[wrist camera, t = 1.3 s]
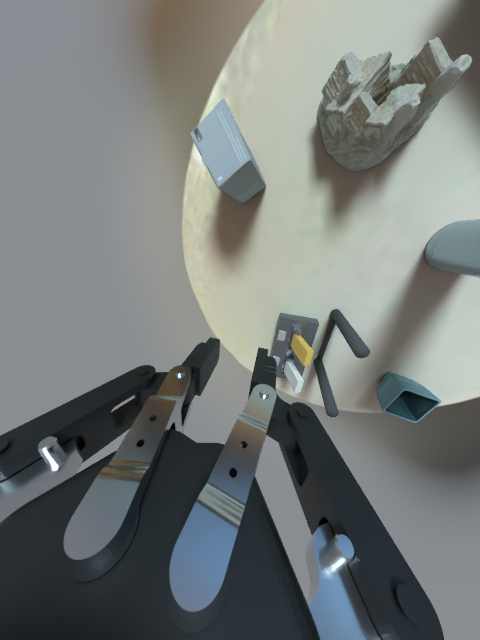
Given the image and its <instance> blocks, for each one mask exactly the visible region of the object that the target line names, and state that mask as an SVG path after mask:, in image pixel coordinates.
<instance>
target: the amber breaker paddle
mask: <svg viewBox="0 0 480 640" xmlns="http://www.w3.org/2000/svg"><path fill="white" fill-rule="evenodd" d="M290 346H291V348H292V349H293V351H294V352H295V354H296V355H297V357H298V359H299V360H300V362H301V363H302V365H303V366H309V365H310V363H311V360H312V357H313V354H314V351H313V350H312V349H311V347H310V346H309V345H308V344H307V343H306V341H305V340H304V339H303V338H302V336H301V335H298V334H293V338H292V342H291V345H290Z"/></svg>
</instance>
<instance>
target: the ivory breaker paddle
mask: <svg viewBox="0 0 480 640" xmlns="http://www.w3.org/2000/svg"><path fill="white" fill-rule="evenodd" d="M284 373H285V375H286V377H287V379H288V381H289V383H290V385H291V387H292V389H293V391H294V393H300V392H301V389H302V386H303V383H304V380H303V379H302V377H301V375H300V374H299V372H298V370H297V369H296V367H295V365H294V364H293V362H289V361H286V364H285V368H284Z"/></svg>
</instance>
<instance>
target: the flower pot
mask: <svg viewBox="0 0 480 640" xmlns="http://www.w3.org/2000/svg"><path fill="white" fill-rule="evenodd" d="M377 396H378V399H379V402H380V405H381V407H382V410H383V412H386V413H388V414H392V415H394V416H397V417H400V418H403V419H405V420H408V421H411V422H415V423H417V422H419V421H420V420H421V419H422V418H423V417H425V416H426V415H427V414H428V413H429V412H430V411H432V410H433V409H434V408H435V407H436V406H438V405H439V404H440V403H441V400H439V399H438V398H437V397H436V396H435V395H433V394H432V393H431V392H430V391H429V390H427V389H426V388H425V387H424V386H422V385H420V384H419V383H417V382H415V381H413V380H410V379H408V378H405V377H402V376H399V375H396V374H393V373H388V374H387V375H386V376H385V377H384V379H383V380H382V381H381V382H380V383H379V385H378V388H377Z"/></svg>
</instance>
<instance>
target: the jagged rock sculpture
mask: <svg viewBox="0 0 480 640" xmlns="http://www.w3.org/2000/svg"><path fill="white" fill-rule="evenodd" d="M391 56H392V54H391V52H390V51H389V52H388V53H386V52H385V53H384V54H379V55H378V56H377V57H376V56H373V57H372V58H368V59H366V60H365V61H364V62H363V61H361V60H358V58H357V56H356V55H355V54H354V53H353V52H351V53H348V54H347V53H346V54H345V55H344V56H343V57H342V58H341V60H340V61H339V62H338V64H337V65H336V68H335V69H334V71H333V73H332V74H331V76H330V77H329V79H328V81H327V82H326V84H325V86H324V87H323V90H322V93H323V96H324V97H323V99H322V100H321V102H320V105H319V108H318V123H319V125H320V130H321V134H322V138H323V144H324V147H325V149H326V152H327V154H328V155H330V157H331V158H333V159H334V160H336V162H337V163H338V164H339V165H341V166H342V167H344V168H346V169H347V170H350V171H360V170H366V169H369V168H372V167H374V166H376V165H378V164H379V163H381V162H382V161H383V160H384V159H385V158H386V157H388V156H389V155H390V154H391V153H392V152H393V151H394V150H395V149H396V148H397V147H399V146H400V145H401V144H403V143H404V142H405V141H407V140H408V139H409V138H410V137H411V136H412V135H413V134H415V133H416V132H417V131H418V130H419V129H420V127H421V126H422V125H423V124H424V123H425V122H426V121H427V119H428V118H429V117H430V116H431V114H432V112H433V110H434V109H435V107H436V106H437V105H438V103H439V101H440V99H441V98H442V97H443V96H444V95H445V94H446V93H447V92H449V91H450V90H451V89H452V88H453V87H454V85H455V84H456V82H457V80H458V79H459V78H460V77H461V76H462V75H463V74H464V72H465V71H466V70H467V69H468V68H469V67H470V65H471V62H472V58H471V57H470V56H469V55H468V54H465V55H461V56H460V57H459V58H458V59H456V60H455V61H454V62H453V61H452V60H451V59H450V58H449V56H448V54H447V52H446V50H445V48H444V46H443V45H442V42H441V40H440V39H439V38H438V37H435V39H434V40H431V39H430V40H429V41H428V42H427V43H426V44H425V45H424V47H423V49H422V50H421V51H420V52H419V53H418V54H417V55H414V56H413V58H412V59H411V60H410V62H409V63H407V64H403V63H401V64H397V65H390V64H391V63H390V58H391Z"/></svg>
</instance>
